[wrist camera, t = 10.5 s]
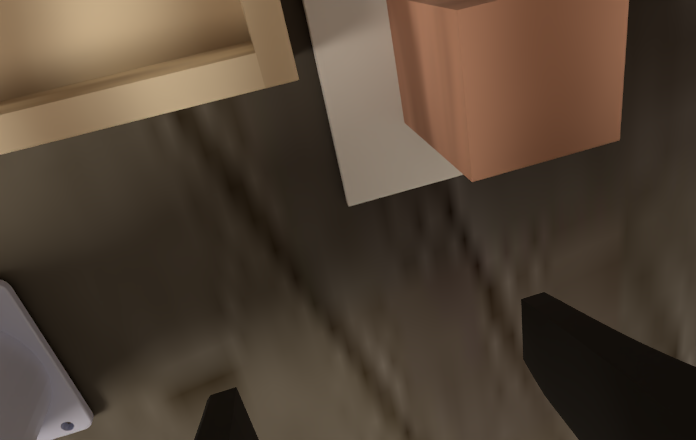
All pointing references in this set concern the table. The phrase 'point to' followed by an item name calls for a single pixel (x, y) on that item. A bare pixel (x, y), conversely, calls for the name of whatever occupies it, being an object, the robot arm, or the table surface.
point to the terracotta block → (510, 78)
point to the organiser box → (130, 61)
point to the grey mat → (367, 102)
